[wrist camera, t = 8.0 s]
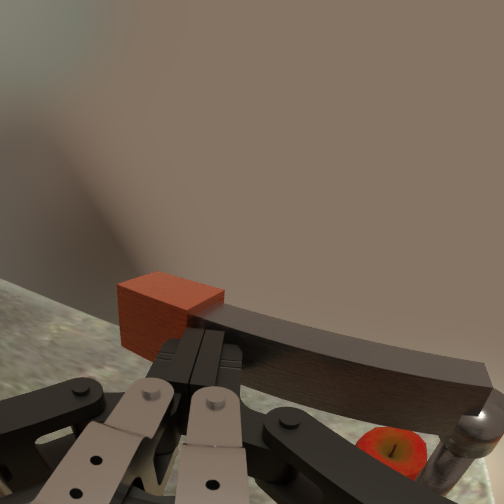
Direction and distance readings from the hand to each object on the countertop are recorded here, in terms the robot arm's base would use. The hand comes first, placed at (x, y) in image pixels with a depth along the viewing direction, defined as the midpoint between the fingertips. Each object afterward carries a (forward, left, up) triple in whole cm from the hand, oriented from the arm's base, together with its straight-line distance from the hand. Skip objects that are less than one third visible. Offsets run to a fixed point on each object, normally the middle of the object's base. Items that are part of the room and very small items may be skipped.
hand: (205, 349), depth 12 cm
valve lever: (+4, -1, -2) cm, 5 cm away
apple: (+13, +4, -17) cm, 22 cm away
